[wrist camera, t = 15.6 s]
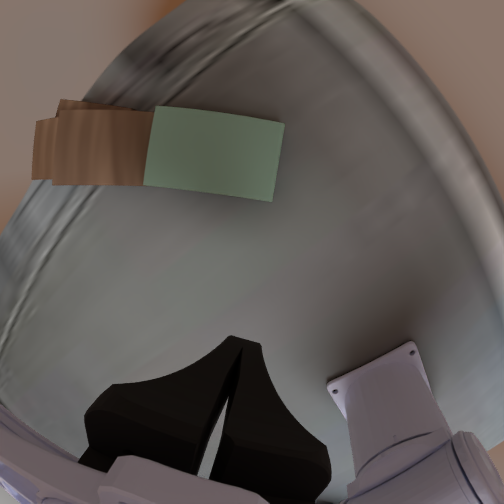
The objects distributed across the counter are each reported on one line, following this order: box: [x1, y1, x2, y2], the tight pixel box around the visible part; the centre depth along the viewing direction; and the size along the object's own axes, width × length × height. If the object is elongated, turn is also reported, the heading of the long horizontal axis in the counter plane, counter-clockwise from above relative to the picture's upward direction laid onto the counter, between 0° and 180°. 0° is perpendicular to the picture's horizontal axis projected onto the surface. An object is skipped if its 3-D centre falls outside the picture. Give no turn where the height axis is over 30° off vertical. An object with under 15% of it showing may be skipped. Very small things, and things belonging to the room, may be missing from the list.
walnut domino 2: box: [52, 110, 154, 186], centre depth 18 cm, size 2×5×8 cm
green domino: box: [143, 106, 285, 202], centre depth 18 cm, size 2×5×8 cm
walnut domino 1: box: [32, 117, 59, 180], centre depth 20 cm, size 2×5×8 cm
